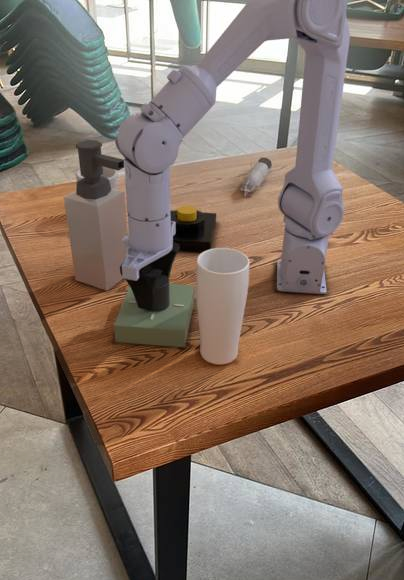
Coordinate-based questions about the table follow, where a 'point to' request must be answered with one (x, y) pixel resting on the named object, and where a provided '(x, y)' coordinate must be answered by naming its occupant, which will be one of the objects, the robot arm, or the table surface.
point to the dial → (162, 294)
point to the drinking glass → (221, 302)
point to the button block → (194, 232)
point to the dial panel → (156, 319)
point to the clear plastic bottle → (256, 175)
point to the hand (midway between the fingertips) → (152, 298)
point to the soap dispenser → (96, 220)
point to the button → (186, 213)
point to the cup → (107, 173)
